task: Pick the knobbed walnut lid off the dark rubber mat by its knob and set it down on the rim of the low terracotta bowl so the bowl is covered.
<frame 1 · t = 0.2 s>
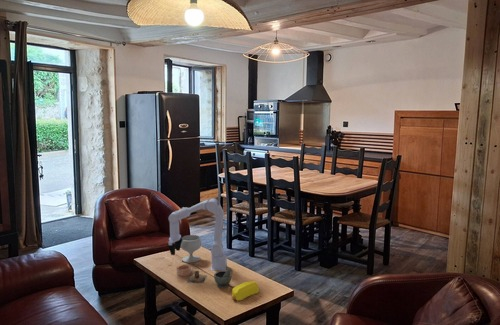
hand: (175, 252, 236), 10 cm above the table, fingers open, 7 cm apart
mat: (197, 279, 220), on the table
bowl: (183, 273, 229), on the table
lid: (197, 279, 220), point 1 cm above the table, touching mat
mortar and pestle: (223, 286, 212), on the table
yellow rounded block: (245, 296, 201), on the table
chalice: (191, 259, 251), on the table
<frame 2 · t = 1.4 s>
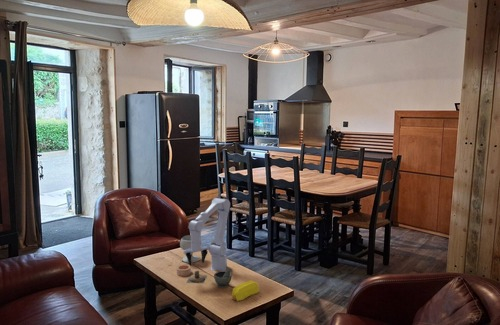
hand: (196, 263, 219), 10 cm above the table, fingers open, 7 cm apart
nothing on the table moved.
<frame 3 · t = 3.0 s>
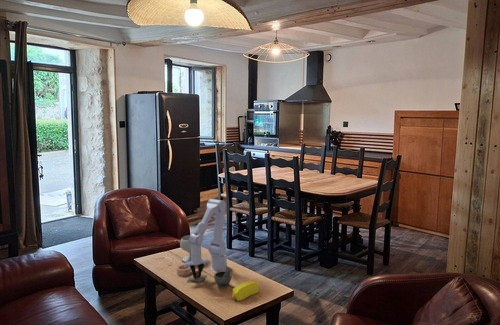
hand: (196, 276, 220), 2 cm above the table, fingers closed on lid, 3 cm apart
lid: (196, 279, 220), point 1 cm above the table, touching gripper, mat
everything else where it was.
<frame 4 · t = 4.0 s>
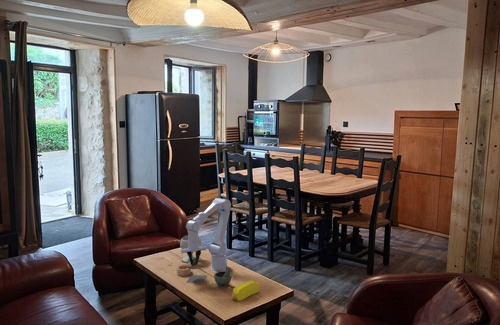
hand: (194, 263, 221), 9 cm above the table, fingers closed on lid, 3 cm apart
lid: (194, 266, 221), point 8 cm above the table, touching gripper
everything else where it was.
when the fingers open (7 cm above the table, at t = 5.3 s): lid drops 1 cm, resting on bowl.
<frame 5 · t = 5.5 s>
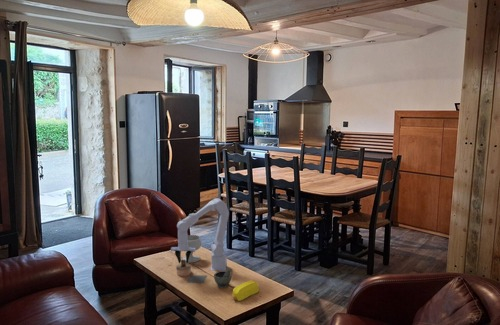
hand: (183, 262, 228), 7 cm above the table, fingers open, 4 cm apart
lid: (183, 267, 228), point 4 cm above the table, touching bowl
everything else where it was.
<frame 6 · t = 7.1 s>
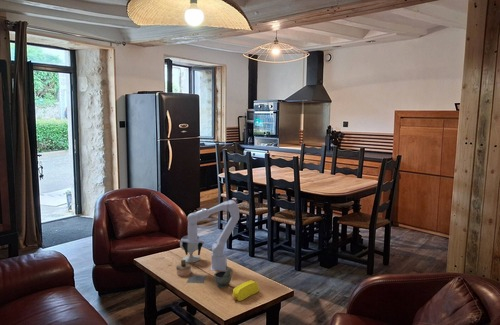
hand: (192, 254, 232), 10 cm above the table, fingers open, 7 cm apart
nothing on the table moved.
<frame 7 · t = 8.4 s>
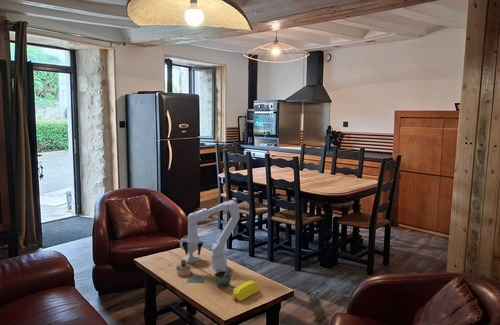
hand: (192, 254, 232), 10 cm above the table, fingers open, 7 cm apart
nothing on the table moved.
at the end: lid 0.3 cm off-centre on the bowl, point 4.0 cm above the bowl's base; lid tilted 0°; the gripper is holding nothing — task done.
